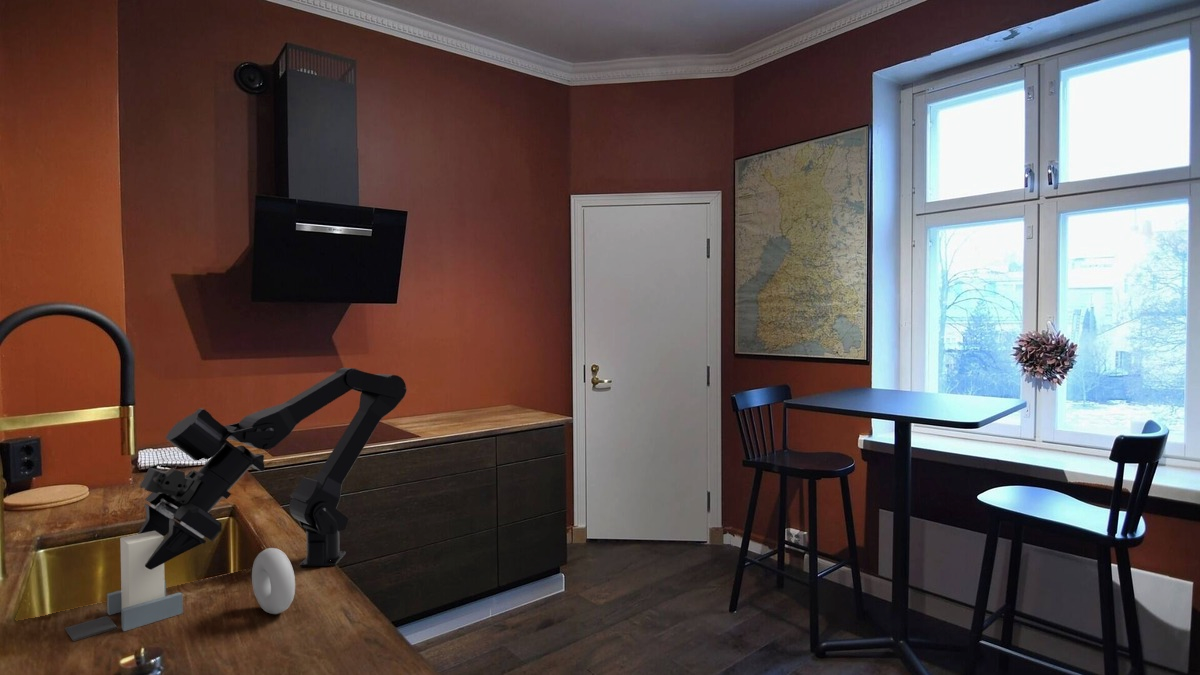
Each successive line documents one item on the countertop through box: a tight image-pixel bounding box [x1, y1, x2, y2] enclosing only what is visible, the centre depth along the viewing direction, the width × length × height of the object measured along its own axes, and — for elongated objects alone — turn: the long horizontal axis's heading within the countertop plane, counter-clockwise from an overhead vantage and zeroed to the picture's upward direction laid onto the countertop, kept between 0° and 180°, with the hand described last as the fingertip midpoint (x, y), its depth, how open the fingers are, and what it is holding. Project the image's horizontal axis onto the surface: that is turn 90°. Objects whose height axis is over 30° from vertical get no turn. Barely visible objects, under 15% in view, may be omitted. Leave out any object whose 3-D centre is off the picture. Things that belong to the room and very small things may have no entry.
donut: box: [251, 547, 296, 615], centre depth 97 cm, size 10×4×10 cm, turn 51°
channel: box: [106, 579, 184, 632], centre depth 97 cm, size 8×9×3 cm
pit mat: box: [64, 615, 118, 642], centre depth 92 cm, size 5×6×1 cm
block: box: [119, 531, 165, 608], centre depth 97 cm, size 4×4×12 cm
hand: (138, 560), depth 97 cm, fingers open, 9 cm apart
